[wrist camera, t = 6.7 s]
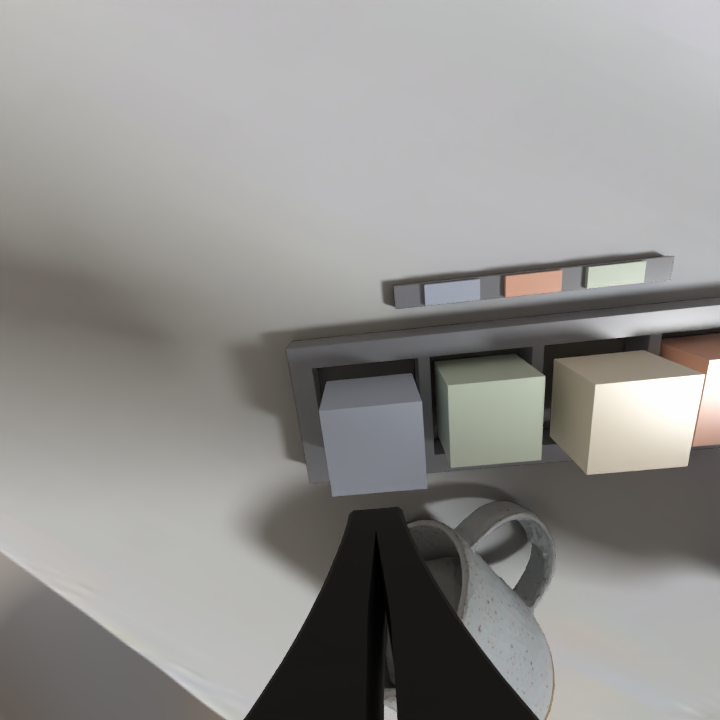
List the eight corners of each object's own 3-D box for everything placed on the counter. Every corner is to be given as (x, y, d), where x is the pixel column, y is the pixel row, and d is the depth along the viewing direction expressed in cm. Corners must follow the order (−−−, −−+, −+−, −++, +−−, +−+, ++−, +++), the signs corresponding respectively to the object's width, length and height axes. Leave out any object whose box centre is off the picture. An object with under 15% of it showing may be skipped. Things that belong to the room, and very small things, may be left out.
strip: (665, 255, 16) (678, 256, 15) (662, 278, 16) (674, 280, 16) (393, 285, 17) (394, 287, 16) (394, 307, 17) (396, 309, 16)
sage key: (515, 353, 17) (545, 376, 14) (513, 425, 18) (541, 459, 15) (433, 361, 17) (447, 385, 14) (437, 432, 18) (450, 467, 16)
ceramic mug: (433, 638, 24) (467, 816, 16) (343, 567, 22) (335, 730, 14) (571, 545, 21) (682, 702, 14) (483, 457, 20) (558, 584, 12)
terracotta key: (736, 331, 17) (813, 350, 14) (720, 406, 18) (787, 438, 15) (651, 340, 17) (709, 360, 14) (640, 414, 18) (692, 446, 15)
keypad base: (771, 291, 17) (807, 295, 15) (739, 428, 19) (768, 443, 17) (291, 341, 17) (285, 349, 16) (313, 466, 20) (309, 483, 18)
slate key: (411, 373, 16) (422, 401, 13) (416, 448, 17) (427, 488, 15) (326, 381, 16) (318, 411, 14) (337, 455, 18) (332, 496, 15)
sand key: (643, 350, 16) (705, 374, 13) (632, 428, 17) (687, 466, 14) (553, 358, 16) (595, 384, 13) (549, 436, 17) (587, 475, 14)
